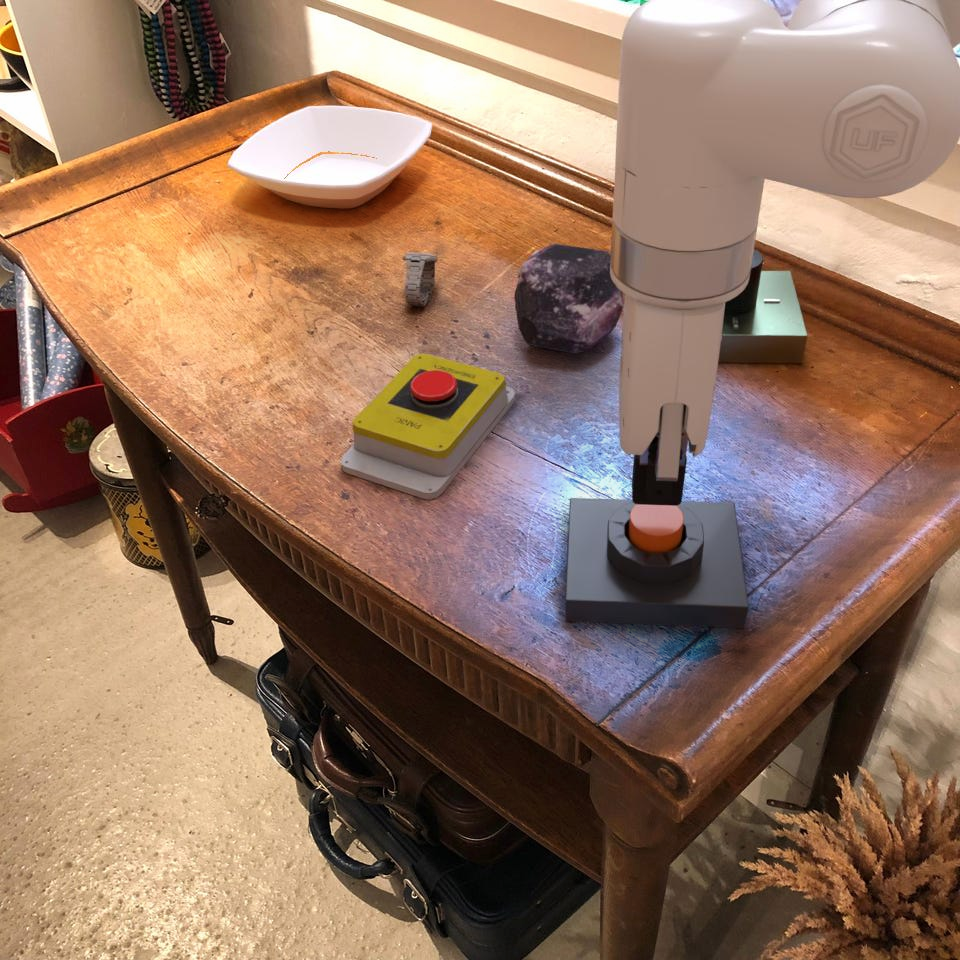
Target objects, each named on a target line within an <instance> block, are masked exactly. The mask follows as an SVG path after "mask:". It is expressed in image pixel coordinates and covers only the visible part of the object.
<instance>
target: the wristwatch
mask: <svg viewBox="0 0 960 960" xmlns="http://www.w3.org/2000/svg"><path fill="white" fill-rule="evenodd" d="M402 260H403V261H406V272H405V273H406V274H405V275H406V277H405V284H404V297H405V301H406V303H407V304H408V306H412V307H425V306H426V305H427V304H428V303H429V302H430V301H431V298H432V294H433V292H434V288H435V285H436V279H435V278H436V263H437V262H438V256H437V255H436V254H433V253H425V252H407V253H406V254H405V255H404V256H402Z"/></svg>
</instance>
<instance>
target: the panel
mask: <svg viewBox="0 0 960 960" xmlns="http://www.w3.org/2000/svg"><path fill="white" fill-rule="evenodd" d="M807 341H808V332H807V327H806V325H805V321H804V316H803V313H802V310H801V305H800V302H799V298H798V293H797V291H796V286H795V283H794V279H793V274H792V272H791V270H762V271H761V277H760V283H759V289H758V296H757V302H756V305H755V307H754V308H753V309H751V310H750V311H747V312H744V313H738V314H730V313H724V318H723V327H722V340H721V344H720V352H719V360H718V364H719V363H721V364H722V363H724V364H794V365H795V364H796V365H797V364H799V365H802V364H803V360H804V355H805V350H806V346H807Z"/></svg>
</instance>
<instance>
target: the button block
mask: <svg viewBox="0 0 960 960" xmlns="http://www.w3.org/2000/svg"><path fill="white" fill-rule="evenodd" d="M635 505H636V504H635V503H633V501H632V499H623V498H622V499H621V498H620V499H619V498H618V499H615V498H585V497H584V498H582V497H580V498H579V497H569V507H568V508H569V509H568V533H567V552H566V553H567V555H566V572H565V573H566V575H565V594H564V595H565V598H564V620H565V621H566V622H585V623H587V622H589V623H606V624H607V623H609V624H610V623H612V624H632V625H657V626H658V625H659V626H662V625H663V626H678V627H679V626H681V627H703V628H704V627H705V628H725V629H726V628H727V629H731V628H732V629H745V628H746V623H747V618H748V614H749V613H748V612H749V608H750V606H749V599H748V592H747V584H746V577H745V569H744V562H743V555H742V547H741V540H740V532H739V524H738V518H737V517H738V516H737V510H736V504H735V502H729V501H727V502H726V501H725V502H724V501H721V502H720V501H694V500H693V501H690V500H689V501H687V500H682V502H681V504H679V505H677V507H678V508H679V509H680V510H681V512H682V513H683V517H684V522H683V531H682V538H681V542H680V543H679V545H678V546H677V547H676V548H675V549H673V550H671V551H669V552H666V553H648V552H645V551H643V550H641V549H639V548H637V547H636V546H635V545H634V544H633V543H632V542H631V540H630V538H629V523H630V513H631V510H632V509H633V507H634V506H635Z"/></svg>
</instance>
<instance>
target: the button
mask: <svg viewBox="0 0 960 960" xmlns="http://www.w3.org/2000/svg"><path fill="white" fill-rule="evenodd" d="M683 522H684V517H683V513H682V512H681V510H680V509H679V508H678V507H677V506H670V505H640V504H636V505H635V506H634V507H633V509H632V510H631V513H630V523H629V538H630V540H631V542H632V543H633V544H634V545H635V546H636V547H637V548H639V549H641V550H643V551H645V552H648V553H666V552H669V551H671V550H673V549H675V548H676V547H677V546H678V545H679V543H680V542H681V538H682V531H683Z"/></svg>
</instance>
